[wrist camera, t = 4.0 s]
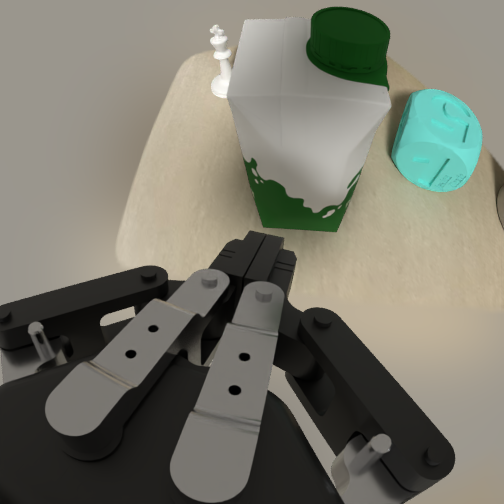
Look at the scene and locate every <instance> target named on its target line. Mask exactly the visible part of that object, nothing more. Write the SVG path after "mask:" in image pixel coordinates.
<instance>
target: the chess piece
mask: <svg viewBox="0 0 504 504" xmlns="http://www.w3.org/2000/svg"><path fill="white" fill-rule="evenodd" d="M210 32H211V33H215V36H214V37H212V38H211V40H210V42H211V44H212V45H213V46H214V48H215V49H216V50H217V51H215V52H214V58H215V59H218V60H220V69H221V74H219V75H217V76H216V77H215V78H214V79H213V80H212V83H211V90H212V92H213V94H214V95H216V96H218V97H221V98H227V96H226V95H227V90H228V86H229V82H230V77H231V73H232V68H231V65H230V63H229V60H228V57H230V56H231V54H232V53H231V51H230V50H229V49H227V48H226V46H227V41H228V37H227V36H226V35H223V34H224V30H220V29H219V26H218V25H214V26H213V28H211V29H210Z"/></svg>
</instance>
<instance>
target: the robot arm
mask: <svg viewBox="0 0 504 504" xmlns="http://www.w3.org/2000/svg"><path fill="white" fill-rule="evenodd" d="M497 208H498V214H499V217H500V221H501V223H502V226H503V228H504V185H503V186H502V187H501V188H500V190H499V193H498V197H497ZM283 245H284V238H283V237H278V236H273V235H269V234H264V233H259V232H254V231H249V232H248V234H247V235H246V237H245V238H244V240H239V239H234V240H232V241H230V242H228V243H227V244H226V245H225V247H224V248H223V250H222V251H221V252H220V253H219V255H218V256H217V257H216V259H215V260H214V261H213V263H212V264H211V265H210V267H209V268H208V269H202V270H198V271H196V272H194V273H193V274H192V275H191V276H190V277H189V278H188V279H187V280H186V281H177V280H168V273H167V272H166V270H164V269H163V268H161V267H158V266H143V267H139V268H135V269H131V270H127V271H124V272H120V273H116V274H113V275H109V276H105V277H101V278H98V279H94V280H90V281H87V282H83V283H79V284H76V285H72V286H68V287H65V288H61V289H58V290H54V291H50V292H46V293H43V294H39V295H36V296H32V297H29V298H25V299H21V300H18V301H14V302H11V303H7V304H4V305H1V306H0V350H1V361H2V374H3V383H4V384H3V385H1V386H0V504H404V503H405V502H407V501H408V500H410V499H412V498H414V497H415V496H417V495H418V494H420V493H422V492H423V491H425V490H426V489H428V488H429V487H431V486H433V485H434V484H435V483H437V482H438V481H440V480H441V479H442V478H444V477H446V476H447V475H448V474H449V473H450V472H451V470H452V469H453V467H454V463H455V453H454V450H453V448H452V446H451V444H450V443H449V442H448V440H447V439H446V438H445V437H444V436H443V435H442V433H441V432H440V431H439V430H438V429H437V427H436V426H435V425H434V424H433V423H432V422H431V420H430V419H429V418H428V417H427V416H426V415H425V413H424V412H423V411H422V410H421V409H420V408H419V406H418V405H417V404H416V403H415V402H414V401H413V399H412V398H411V397H410V396H409V395H408V394H407V393H406V391H405V390H404V389H403V388H402V387H401V386H400V385H399V383H398V382H397V381H396V380H395V379H394V378H393V376H392V375H391V374H390V373H389V372H388V371H387V370H386V369H385V367H384V366H383V365H382V364H381V363H380V362H379V361H378V359H376V357H375V356H374V355H373V354H372V353H371V352H370V350H369V349H368V348H367V347H366V346H365V345H364V344H363V343H362V341H361V340H360V339H359V338H358V337H357V336H356V335H355V334H354V333H353V331H352V330H351V329H350V328H349V327H348V326H347V325H346V324H345V322H344V321H343V320H342V319H341V318H340V317H339V316H338V315H337V314H336V313H334V312H333V311H331V310H328V309H325V308H318V307H316V308H310V309H307V310H305V311H304V312H302V311H300V310H297V309H296V308H294V307H293V306H292V305H291V304H290V303H289V301H288V295H289V292H290V289H291V284H292V280H293V275H294V270H295V265H296V260H297V258H296V256H295V253H294V252H293V251H289V250H284V249H283ZM132 306H134V309H135V315H136V316H135V317H133V318H130V319H126V320H123V321H120V322H117V323H113V324H110V325H107V326H100V320H101V318H102V317H103V316H104V315H106V314H108V313H112V312H116V311H119V310H122V309H126V308H129V307H132ZM213 358H214V359H213ZM212 360H213V361H212ZM211 362H212V364H211V366H210V367H208V366H209V365H210V363H211ZM272 364H273V365H275V366H277V367H279V368H280V369H282V370H284V371H286V372H285V377H286V379H287V381H288V383H289V384H290V386H291V388H292V389H293V391H294V392H295V394H296V396H297V397H298V399H299V400H300V402H301V403H302V405H303V406H304V408H305V409H306V411H307V412H308V414H309V416H310V417H311V419H312V420H313V422H314V423H315V425H316V427H317V428H318V430H319V431H320V433H321V434H322V436H323V437H324V439H325V440H326V442H327V443H328V445H329V446H330V448H331V449H332V451H333V452H334V454H335V455H336V458H335V460H334V461H333V463H332V466H331V474H332V477H333V480H334V482H335V485H336V488H335V486H334V485H333V483H332V481H331V480H330V478H329V476H328V475H327V473H326V471H325V470H324V468H323V466H322V465H321V463H320V461H319V459H318V458H317V456H316V454H315V452H314V451H313V449H312V447H311V446H310V444H309V442H308V440H307V439H306V437H305V435H304V433H303V431H302V430H301V428H300V426H299V425H298V423H297V421H296V419H295V417H294V415H293V414H292V412H291V411H290V409H289V408H288V407H287V405H286V404H285V403H284V402H283V401H282V400H281V399H280V398H278V397H277V396H276V395H275V394H273V393H272V392H270V391H269V390H268V385H269V380H270V375H271V370H272Z"/></svg>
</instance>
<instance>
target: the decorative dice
mask: <svg viewBox="0 0 504 504" xmlns="http://www.w3.org/2000/svg"><path fill="white" fill-rule="evenodd" d="M481 146H482V130H481V127H480V124H479V122H478V120H477V118H476V116H475V115H474V113H473V112H472V111H471V109H470V108H468V106H467V105H466V104H465V103H463V102H462V101H461V100H460V99H458V98H457V97H455V96H453V95H451V94H449V93H447V92H444V91H441V90H435V89H424V90H419V91H416V92H413V93H411V95H410V97H409V99H408V101H407V104H406V106H405V109H404V112H403V115H402V118H401V121H400V124H399V127H398V131H397V134H396V137H395V141H394V145H393V149H392V154H391V158H392V160H393V162H394V164H395V165H396V167H397V168H398V170H399V171H400V172H401V173H402V174H403V176H404V177H405V178H407V179H408V180H409V181H410V182H412V183H413V184H415V185H417V186H419V187H421V188H424V189H427V190H431V191H437V192H447V191H452V190H455V189H458V188H460V187H462V186H463V185H464V184H465V183H466V182H467V181H468V179H469V178H470V176H471V174H472V173H473V171H474V168H475V166H476V164H477V161H478V158H479V155H480V151H481Z"/></svg>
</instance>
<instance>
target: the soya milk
mask: <svg viewBox="0 0 504 504" xmlns="http://www.w3.org/2000/svg"><path fill="white" fill-rule="evenodd" d="M389 39H390V30H389V28H388V27H387V25H386V24H385V23H384V22H383V21H381V20H380V19H379V18H377V17H376V16H374V15H372V14H370V13H367V12H365V11H362V10H358V9H354V8H348V7H329V8H324V9H321V10H319V11H317V12H316V13H314V14H313V16H312V18H311V19H306V18H302V17H286V18H285V19H253V20H245V22H244V25H243V29H242V33H241V37H240V41H239V45H238V49H237V53H236V57H235V61H234V65H233V69H232V73H231V77H230V82H229V86H228V90H227V95H226V96H227V99H228V102H229V105H230V108H231V111H232V114H233V118H234V123H235V127H236V131H237V135H238V139H239V143H240V147H241V151H242V155H243V159H244V163H245V167H246V171H247V175H248V180H249V184H250V187H251V191H252V194H253V197H254V200H255V203H256V206H257V209H258V212H259V215H260V218H261V221H262V225H263V227H267V228H283V229H298V230H313V231H327V232H337V230H338V228H339V225H340V223H341V221H342V218H343V216H344V214H345V211H346V209H347V207H348V204H349V202H350V200H351V197H352V195H353V192H354V189H355V187H356V184H357V182H358V179H359V176H360V173H361V171H362V168H363V165H364V163H365V160H366V157H367V154H368V151H369V149H370V146H371V143H372V140H373V137H374V134H375V132H376V129H377V128H378V126H379V125H380V123H381V122H382V120H383V119H384V117H385V116H386V114H387V113H388V111H389V110H390V108H391V101H390V97H389V94H388V91H389V84H388V80H387V77H386V75H387V60H386V53H387V49H388V44H389Z"/></svg>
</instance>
